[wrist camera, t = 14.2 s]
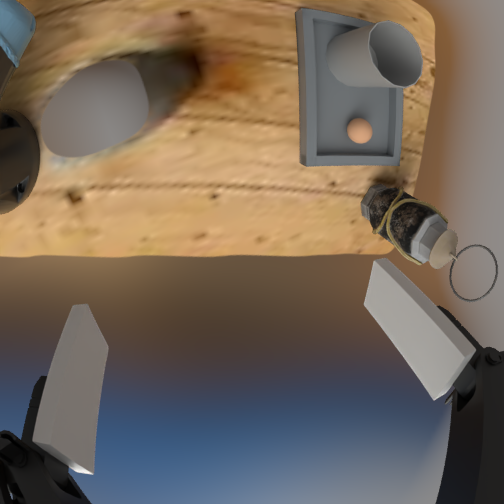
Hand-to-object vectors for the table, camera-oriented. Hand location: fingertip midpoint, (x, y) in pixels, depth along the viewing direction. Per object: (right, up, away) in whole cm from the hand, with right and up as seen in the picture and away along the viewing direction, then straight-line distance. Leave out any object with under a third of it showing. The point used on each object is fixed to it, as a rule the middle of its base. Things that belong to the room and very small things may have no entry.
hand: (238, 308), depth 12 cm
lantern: (+21, +11, +31) cm, 39 cm away
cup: (+14, +29, +18) cm, 37 cm away
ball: (+15, +20, +23) cm, 34 cm away
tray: (+14, +25, +21) cm, 36 cm away
